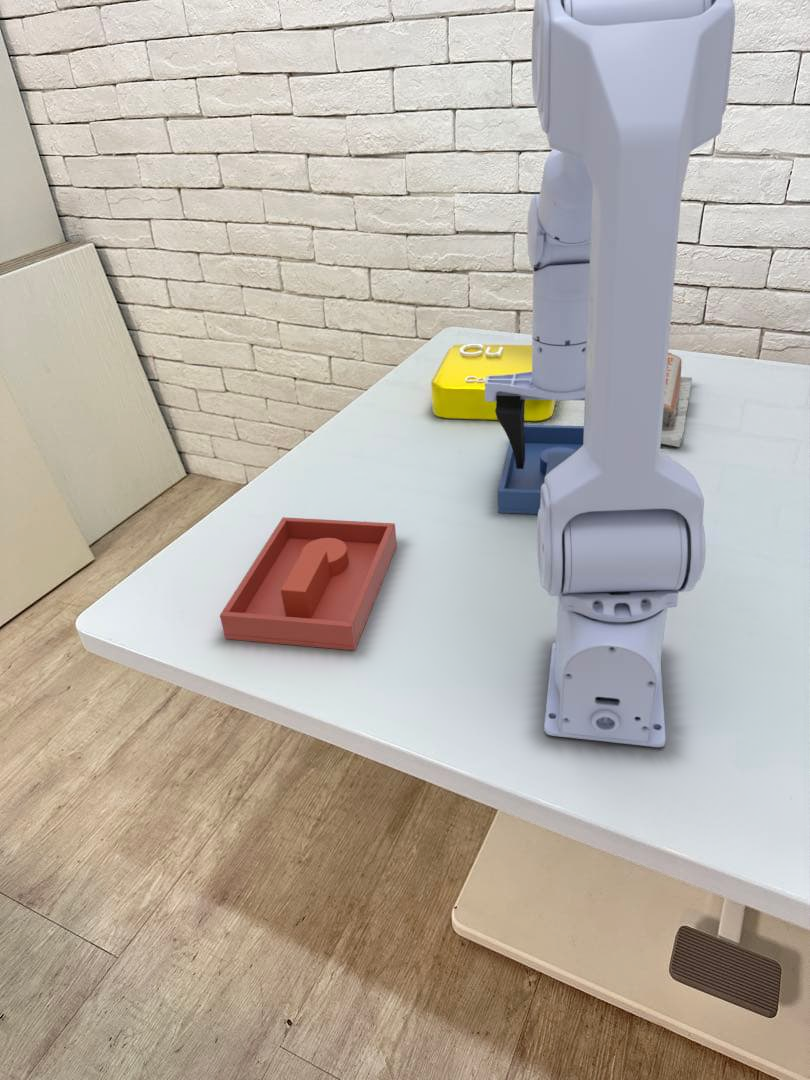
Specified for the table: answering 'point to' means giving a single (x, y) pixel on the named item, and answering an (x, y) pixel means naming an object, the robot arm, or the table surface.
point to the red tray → (343, 601)
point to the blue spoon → (554, 458)
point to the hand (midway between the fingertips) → (558, 465)
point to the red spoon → (313, 575)
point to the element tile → (481, 381)
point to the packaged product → (675, 402)
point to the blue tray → (532, 467)
